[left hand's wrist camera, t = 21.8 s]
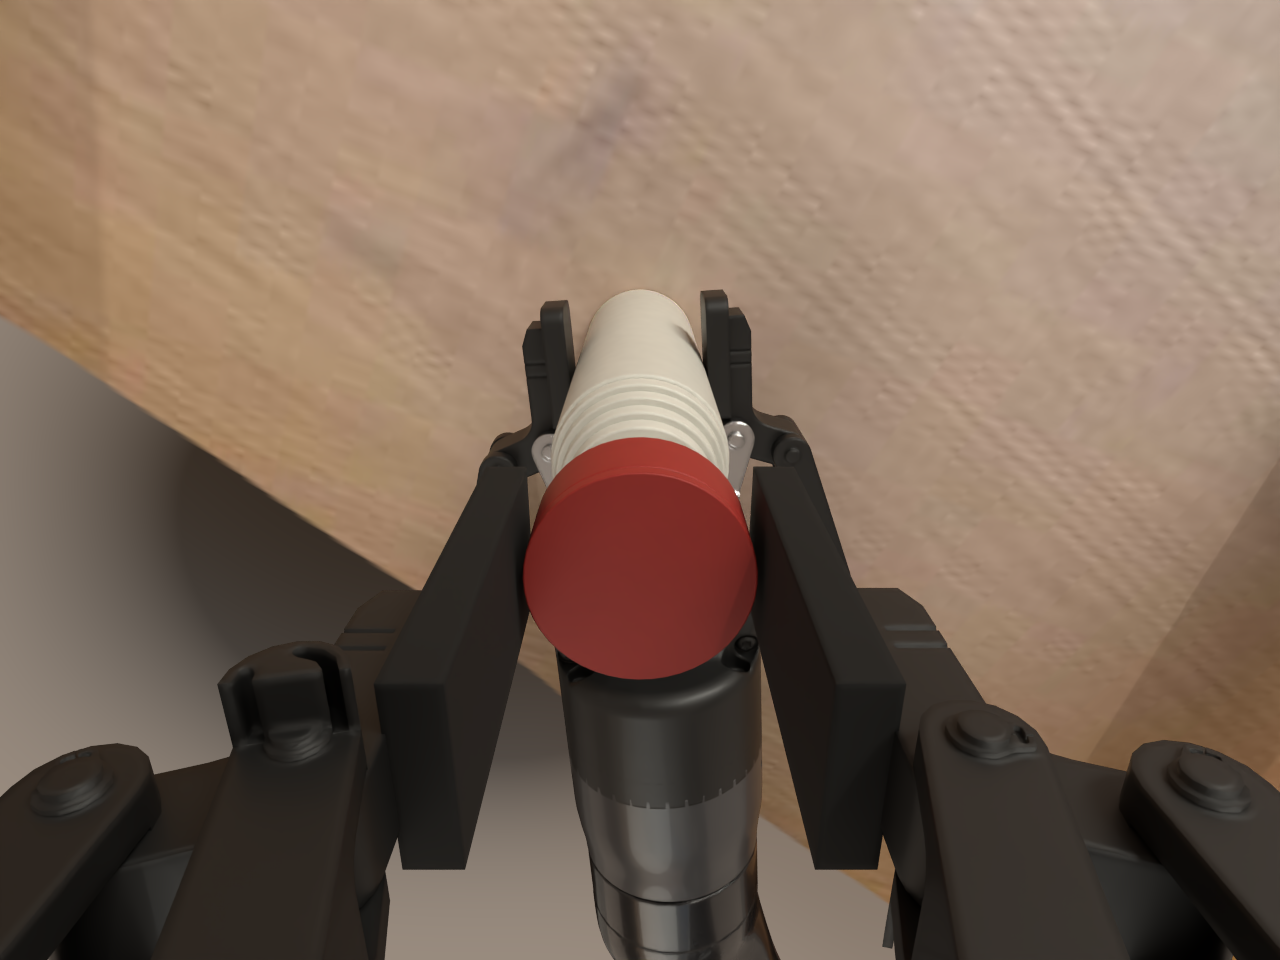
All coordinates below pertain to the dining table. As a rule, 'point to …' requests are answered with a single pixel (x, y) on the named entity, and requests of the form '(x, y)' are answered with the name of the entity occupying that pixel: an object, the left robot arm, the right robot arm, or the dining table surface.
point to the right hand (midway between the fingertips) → (633, 301)
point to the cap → (640, 560)
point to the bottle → (640, 383)
